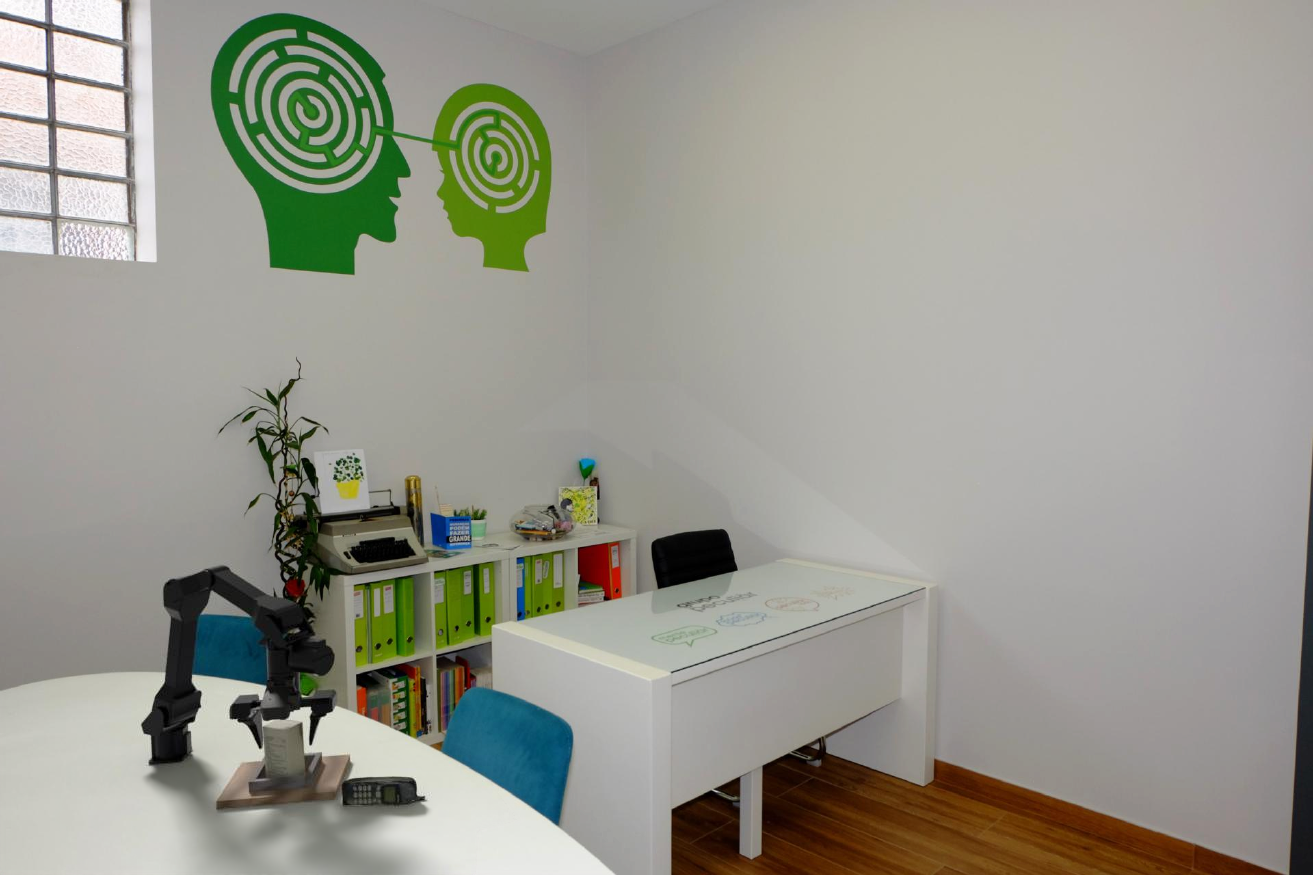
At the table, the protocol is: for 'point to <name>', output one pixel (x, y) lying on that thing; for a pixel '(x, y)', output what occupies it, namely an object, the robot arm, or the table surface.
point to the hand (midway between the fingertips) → (286, 746)
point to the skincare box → (284, 749)
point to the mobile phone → (379, 791)
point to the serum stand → (285, 783)
